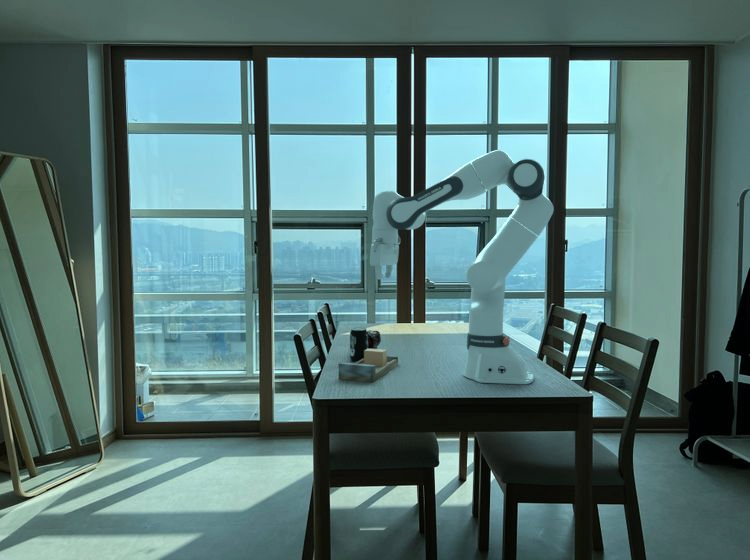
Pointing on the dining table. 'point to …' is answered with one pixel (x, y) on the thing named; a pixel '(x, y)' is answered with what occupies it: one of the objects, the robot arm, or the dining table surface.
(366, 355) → the block
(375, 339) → the figurine
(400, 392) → the dining table surface
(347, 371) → the track
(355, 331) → the beverage can
